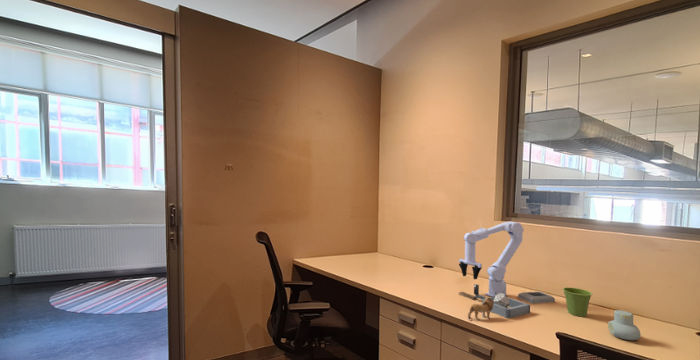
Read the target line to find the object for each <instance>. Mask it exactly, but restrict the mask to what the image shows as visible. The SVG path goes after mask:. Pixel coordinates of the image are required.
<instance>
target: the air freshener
mask: <svg viewBox="0 0 700 360" xmlns="http://www.w3.org/2000/svg"><path fill="white" fill-rule="evenodd" d="M613 314H614V316H613V319H612V320H610V321H608V323H607V328H608V331H609V332H610V334H612V336H614V337H616V338H618V337H619V338H618V339H621V340H626V341H636V340H639V339H641V337H642V336H641V331H640V329H639V327H638V326H637V325H635V324H634V314H633V313H632V312H628V311H625V310H620V309H615V310H614V312H613Z"/></svg>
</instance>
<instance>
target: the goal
mask: <svg viewBox="0 0 700 360" xmlns="http://www.w3.org/2000/svg"><path fill="white" fill-rule="evenodd" d="M508 298H509V299H511V300H510V301H509V305H510V306H508V307H507V308H505V307H503V306H500V305H497V304H494V303H493V309H492V310H491V311H490V313H493V314H496V315H498V316H501V317H504V318H506V319H512V318H516V317H520V316H524V315H528V314H530V313H531V303H530V304H529V303H527V302H523V301H520V300H518V299H514V298H511V297H508ZM481 300H482V299H481ZM481 302H482V303H481V304H483V303H484V300H482V301H481Z"/></svg>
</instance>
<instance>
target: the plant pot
mask: <svg viewBox="0 0 700 360" xmlns="http://www.w3.org/2000/svg"><path fill="white" fill-rule="evenodd" d="M562 290H563V295H564V297H565V302H566V306H567V307H566V308H567V313H568V314H570V315H572V316H576V317H580V318H581V317H583V318H585V317H587V314H588V309H589V303H590V300H591V297H592V296H593V293H592V292H591V291H589V290H585V289H583V288H582V289H581V288H579V287H578V288H576V287H563V288H562Z"/></svg>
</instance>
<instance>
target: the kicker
mask: <svg viewBox="0 0 700 360" xmlns="http://www.w3.org/2000/svg"><path fill="white" fill-rule="evenodd" d="M479 286H480V285H479V284H477V283H476V284H473V294H474V296H475V297H476V298H477V299H479V300H485V298H487V297H488V296H485V295H482V294H479V293H480V291H479V290H480V289H479V288H480V287H479ZM490 298H492V300H494V297H492V296H490Z"/></svg>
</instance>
